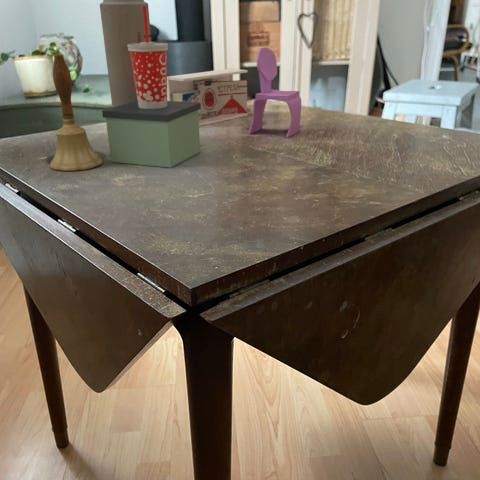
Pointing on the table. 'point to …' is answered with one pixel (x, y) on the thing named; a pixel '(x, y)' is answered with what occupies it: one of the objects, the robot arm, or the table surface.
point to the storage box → (153, 133)
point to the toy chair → (273, 93)
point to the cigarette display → (211, 94)
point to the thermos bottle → (122, 44)
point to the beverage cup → (149, 71)
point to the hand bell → (70, 127)
